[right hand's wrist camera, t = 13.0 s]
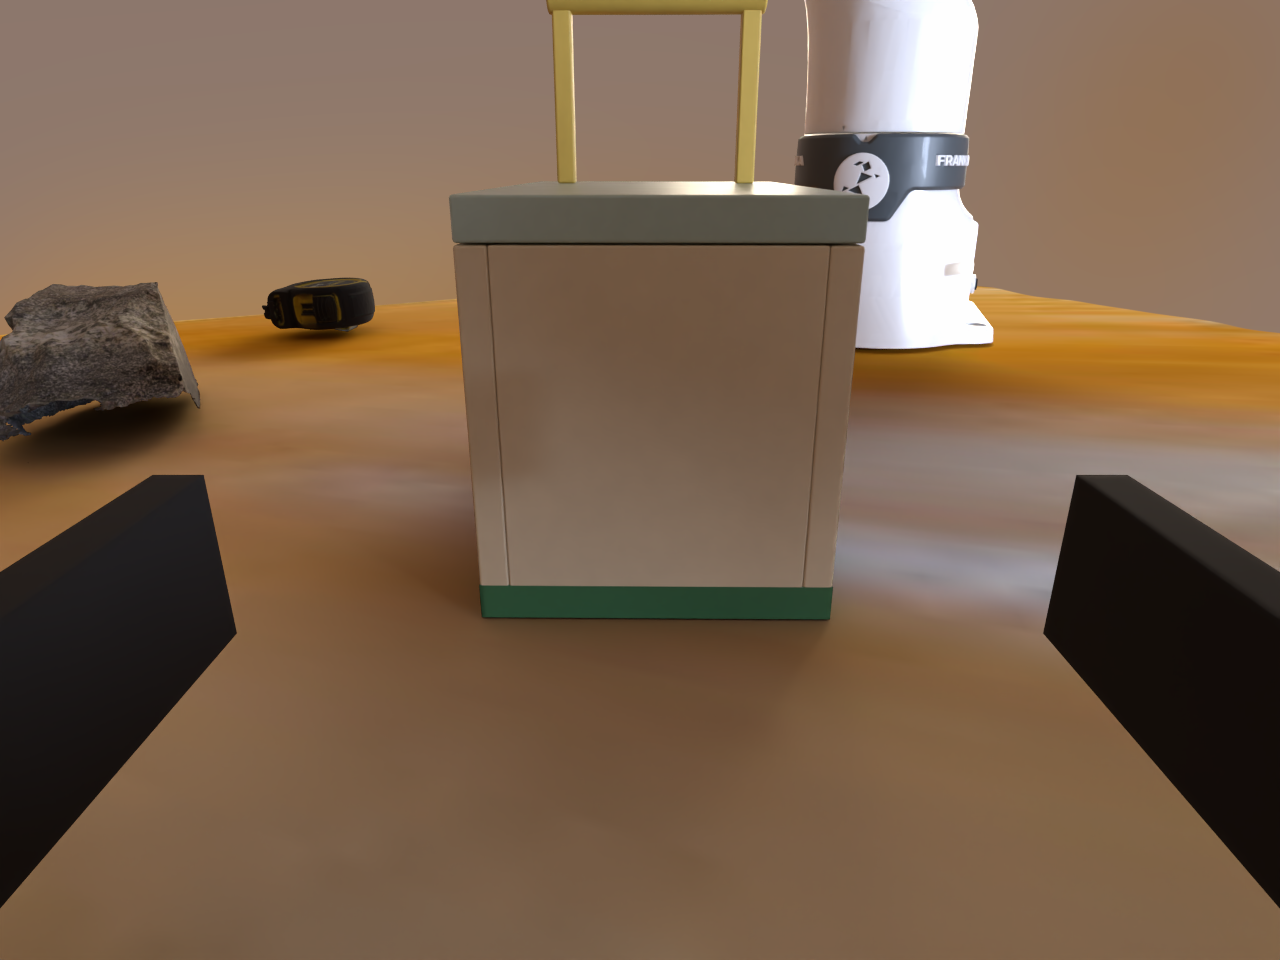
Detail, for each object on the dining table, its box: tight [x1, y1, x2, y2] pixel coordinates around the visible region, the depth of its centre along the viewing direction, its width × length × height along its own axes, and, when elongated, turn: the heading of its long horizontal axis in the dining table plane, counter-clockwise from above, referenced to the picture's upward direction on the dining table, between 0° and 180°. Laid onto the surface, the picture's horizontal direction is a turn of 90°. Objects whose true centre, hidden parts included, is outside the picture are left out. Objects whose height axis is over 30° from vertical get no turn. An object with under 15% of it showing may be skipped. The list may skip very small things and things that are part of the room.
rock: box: [0, 282, 200, 463], centre depth 39 cm, size 13×9×6 cm, turn 26°
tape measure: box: [262, 278, 375, 331], centre depth 63 cm, size 7×7×4 cm
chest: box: [453, 243, 865, 619], centre depth 29 cm, size 16×10×10 cm, turn 179°
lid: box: [449, 0, 870, 243], centre depth 26 cm, size 17×10×9 cm, turn 179°
